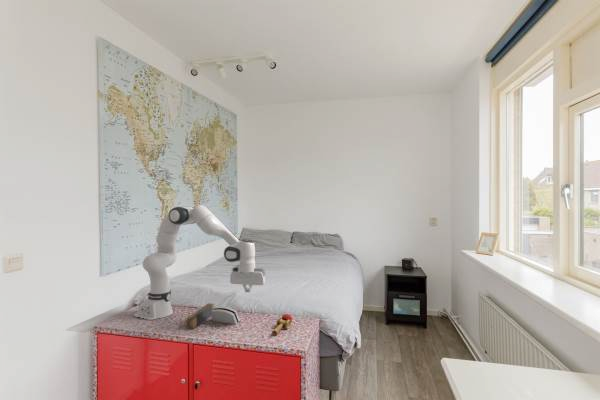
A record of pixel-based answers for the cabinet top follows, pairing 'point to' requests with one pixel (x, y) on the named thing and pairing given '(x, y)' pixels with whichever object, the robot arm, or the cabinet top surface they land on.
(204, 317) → the mounting plate
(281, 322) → the kendama
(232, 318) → the grey rounded case
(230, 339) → the cabinet top surface
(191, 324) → the frame block
